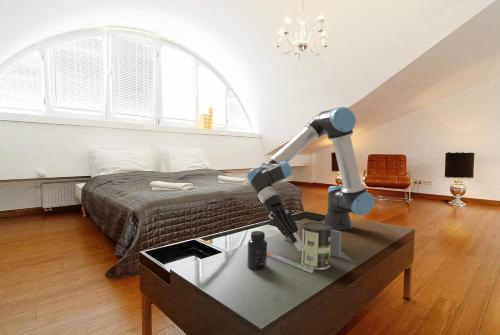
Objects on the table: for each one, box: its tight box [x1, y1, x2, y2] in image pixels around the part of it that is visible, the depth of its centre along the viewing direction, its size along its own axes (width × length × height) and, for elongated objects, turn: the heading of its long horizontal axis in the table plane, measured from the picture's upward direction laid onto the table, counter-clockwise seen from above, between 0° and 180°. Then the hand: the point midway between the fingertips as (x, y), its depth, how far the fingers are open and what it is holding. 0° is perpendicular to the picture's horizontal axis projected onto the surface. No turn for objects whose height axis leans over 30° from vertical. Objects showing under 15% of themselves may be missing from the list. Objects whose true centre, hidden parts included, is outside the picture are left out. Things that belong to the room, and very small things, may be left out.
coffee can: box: [300, 221, 333, 271], centre depth 93 cm, size 10×10×14 cm
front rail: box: [267, 251, 315, 274], centre depth 95 cm, size 1×26×1 cm, turn 45°
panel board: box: [284, 219, 342, 259], centre depth 108 cm, size 1×26×10 cm, turn 45°
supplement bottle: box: [246, 230, 268, 271], centre depth 89 cm, size 7×7×12 cm
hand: (302, 249), depth 97 cm, fingers closed
